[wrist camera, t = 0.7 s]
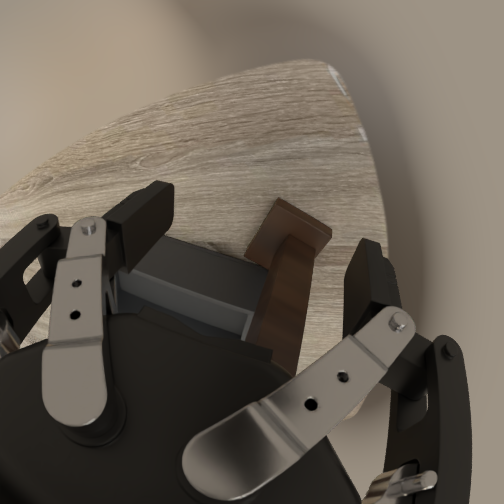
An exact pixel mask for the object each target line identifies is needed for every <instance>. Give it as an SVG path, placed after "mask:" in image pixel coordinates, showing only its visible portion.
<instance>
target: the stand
mask: <svg viewBox="0 0 504 504" xmlns="http://www.w3.org/2000/svg"><path fill="white" fill-rule="evenodd" d="M331 238H332V229H331V228H329V227H327V226H326V225H324V224H322V223H321V222H319V221H318V220H316V219H314V218H313V217H311V216H309V215H308V214H306V213H304V212H303V211H301V210H299V209H298V208H296V207H294V206H292V205H291V204H289V203H287V202H286V201H284V200H282V199H280V198H278V199H277V200H276V202H275V204H274V205H273V207H272V208H271V210H270V212H269V213H268V215H267V217H266V218H265V220H264V221H263V223H262V225H261V226H260V228H259V230H258V231H257V233H256V235H255V236H254V238H253V239H252V241H251V243H250V244H249V246H248V248H247V250H246V252H245V254H244V257H246V258H248V259H250V260H252V261H253V262H255V263H257V264H259V265H261V266H262V267H264V268H266V269H268V270H269V271H268V274H267V277H266V280H265V283H264V286H263V289H262V292H261V295H260V298H259V301H258V304H257V307H256V310H255V313H254V315H253V318H252V321H251V324H250V327H249V330H248V333H247V336H246V338H245V341H246V342H249V343H252V344H255V345H259V346H262V347H266V348H269V349H272V350H273V354H272V358H271V360H273V361H274V362H276V363H278V364H279V365H280V366H282V367H283V368H284V369H286V370H287V371H288V372H289V373H290V374H291V375H292V376H293V377H295V375H296V370H297V365H298V360H299V355H300V349H301V344H302V338H303V332H304V327H305V321H306V314H307V308H308V302H309V295H310V288H311V281H312V274H313V267H314V259H315V258H316V256H317V255H318V254H319V253H320V251H321V250H322V249H323V248H324V247H325V245H326V244H327V243H328V242H329V240H330V239H331Z"/></svg>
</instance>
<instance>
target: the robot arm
mask: <svg viewBox="0 0 504 504" xmlns="http://www.w3.org/2000/svg"><path fill="white" fill-rule="evenodd" d="M173 217H174V185H173V184H171V183H167V182H163V181H159V180H156V181H154V182H153V183H152V184H150V185H149V186H147V187H146V188H145V189H144V188H143V189H141V190H138V191H135V192H133V193H132V194H130V195H129V196H128V197H126V199H124V200H122V201H121V202H120V204H117V205H116V206H115V207H113V208H112V209H111V210H110V211H108V212H107V213H106V214H104V215H103V216H102V217H96V216H91V217H86V218H83V219H80V220H79V221H77V222H76V223H75V224H74V225H73V226H72V227H62V226H60V225H59V221H58V217H57V216H56V215H54V214H44V215H41V216H39V217H37V218H35V219H34V220H32V221H31V222H30V223H29V224H28V225H26V226H25V227H24V228H23V229H22V230H21V231H19V232H18V233H17V234H16V235H15V236H14V237H13V238H11V239H10V240H9V241H8V242H7V243H6V244H5V245H4V246H3V247H2V248H1V249H0V504H469V497H470V487H471V473H472V470H471V469H472V429H471V412H470V401H469V392H468V384H467V377H466V370H465V364H464V358H463V354H462V350H461V348H460V346H459V345H458V344H457V343H456V341H455V340H454V339H452V338H451V337H449V336H446V335H440V336H438V337H437V338H436V339H435V340H434V341H433V342H431V341H429V340H428V339H426V338H424V337H422V336H421V335H419V334H417V333H416V332H415V331H416V330H415V329H416V328H415V323H414V321H413V319H412V318H411V317H410V315H409V314H408V313H407V312H405V311H404V310H402V306H401V301H400V295H399V290H398V286H397V280H396V279H395V278H396V275H395V271H394V267H393V266H392V264H391V263H390V261H389V260H388V259H387V258H384V257H383V255H382V250H381V246H380V243H377V242H374V241H371V240H368V239H365V238H362V239H361V240H360V242H359V244H358V246H357V248H356V251H355V253H354V255H353V257H352V259H351V261H350V263H349V266H348V268H347V270H346V273H345V278H344V311H343V337H342V341H340V342H339V343H338V344H337V345H335V346H334V347H333V348H332V349H330V350H329V351H328V352H327V353H325V354H324V355H323V356H322V357H320V358H319V359H318V360H316V361H315V362H314V363H312V364H311V365H310V366H308V367H307V368H306V369H304V370H303V371H302V372H300V373H299V374H298V375H296V376H295V377H293V376H292V375H291V374H290V373H289V372H288V371H287V370H286V369H284V368H283V367H282V366H280V365H279V364H278V363H276V362H274V361H273V360H271V358H272V354H273V350H272V349H269V348H266V347H262V346H259V345H255V344H252V343H249V342H246V341H243V340H239V339H229V338H220V337H211V336H204V335H201V334H199V333H198V332H196V331H195V330H193V329H191V328H190V327H188V326H187V325H185V324H184V323H182V322H181V321H179V320H178V319H176V318H175V317H173V316H171V315H168V314H166V313H163V312H161V311H158V310H156V309H153V308H151V307H148V306H146V305H144V306H143V307H142V309H141V310H140V312H139V313H118V302H117V288H116V277H115V274H116V272H117V271H121V272H123V273H126V274H128V275H129V273H130V272H131V271H132V270H133V269H134V268H135V266H136V265H137V264H138V263H139V262H140V261H141V260H142V258H143V257H144V256H145V255H146V254H147V253H148V252H149V250H150V249H151V248H152V247H153V246H154V245H155V244H156V243H157V241H158V240H159V239H160V238H161V237H162V236H163V235H164V234H165V233H166V232H167V231H168V229H169V228H170V226H171V224H172V222H173ZM36 258H38V260H39V263H40V266H41V269H40V270H39V271H38V272H37V273H36V274H35V275H34V276H33V278H32V279H31V280H30V281H29V282H28V283H27V284H26V285H25V284H24V281H23V274H24V271H25V269H26V268H27V267H28V266H29V265H30V264H31V263H32V262H33V261H34V260H35V259H36ZM50 304H51V312H50V322H49V336H48V339H45V340H42V341H40V342H37V343H34V344H32V345H29V346H26V347H24V348H21V349H20V344H21V343H22V342H23V340H24V339H25V337H26V336H27V334H28V333H29V332H30V330H31V329H32V328H33V326H34V325H35V323H36V322H37V321H38V319H39V318H40V317H41V316H42V314H43V313H44V312H45V310H46V309H47V308H48V306H49V305H50ZM378 382H379V383H381V384H383V385H385V386H387V387H389V388H391V402H390V417H389V429H388V439H387V448H386V455H385V463H384V469H383V473H382V474H380V475H378V476H377V477H376V478H375V479H374V480H373V481H372V483H371V485H370V487H369V490H368V491H367V493H366V496H365V497H364V499H363V500H362V501H361V498H360V495H359V494H358V492H357V490H356V488H355V486H354V484H353V483H352V481H351V479H350V477H349V475H348V474H347V472H346V470H345V468H344V466H343V465H342V463H341V461H340V459H339V457H338V455H337V454H336V452H335V450H334V448H333V446H332V445H331V443H330V441H329V439H328V437H327V434H328V433H329V432H330V431H331V430H332V429H333V428H334V427H335V426H337V425H338V424H339V423H340V422H341V421H342V420H343V419H344V418H345V417H346V416H347V415H348V414H349V413H350V412H351V411H352V410H353V409H354V408H355V407H356V406H357V405H358V404H359V403H360V402H361V401H362V400H363V398H364V397H365V396H366V395H367V394H368V393H369V392H370V391H371V390H372V389H373V387H374V386H375V385H376V384H377V383H378ZM427 394H428V410H427V398H426V395H427Z"/></svg>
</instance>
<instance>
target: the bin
mask: <svg viewBox="0 0 504 504" xmlns="http://www.w3.org/2000/svg"><path fill="white" fill-rule="evenodd" d="M268 271H269V270H268V269H266V268H264V267H261V266H258V265H255V264H252V263H249V262H245V261H242V260H239V259H236V258H233V257H230V256H226V255H223V254H220V253H217V252H214V251H211V250H208V249H205V248H201V247H198V246H195V245H192V244H189V243H186V242H183V241H180V240H177V239H174V238H171V237H167V236H164V235H163V236H162V237H161V238H160V239H159V240H158V241H157V243H156V244H155V245H154V246H153V247H152V248H151V249H150V250H149V252H148V253H147V254H146V255H145V256H144V257H143V258H142V260H141V261H140V262H139V263H138V264H137V265H136V266H135V268H134V269H133V270H132V271H131V272H130V273H129V275H128V274H126V273H123V272H121V271H117V272H116V274H115V277H116V288H117V302H118V313H139V312H140V310H141V309H142V307H143V306H144V305H146V306H148V307H151V308H153V309H156V310H158V311H161V312H163V313H166V314H168V315H171V316H173V317H175V318H176V319H178V320H179V321H181V322H182V323H184V324H185V325H187V326H188V327H190V328H191V329H193V330H195V331H196V332H198V333H199V334H201V335H204V336H211V337H220V338H229V339H239V340H243V341H245V338H246V336H247V333H248V330H249V327H250V324H251V321H252V318H253V315H254V313H255V310H256V307H257V304H258V301H259V298H260V295H261V292H262V289H263V286H264V283H265V280H266V277H267V274H268Z"/></svg>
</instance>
